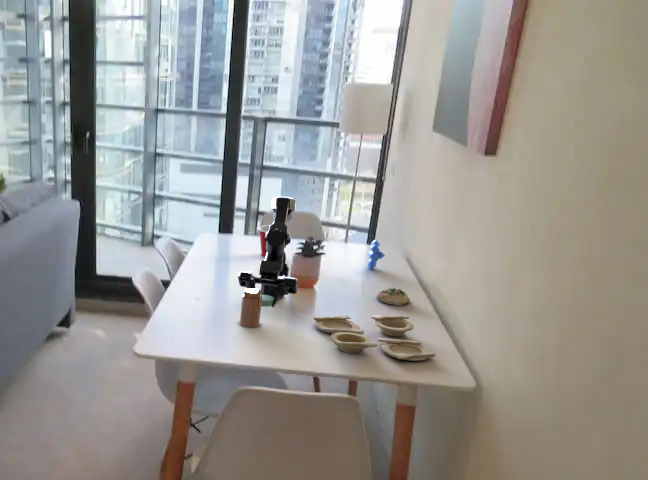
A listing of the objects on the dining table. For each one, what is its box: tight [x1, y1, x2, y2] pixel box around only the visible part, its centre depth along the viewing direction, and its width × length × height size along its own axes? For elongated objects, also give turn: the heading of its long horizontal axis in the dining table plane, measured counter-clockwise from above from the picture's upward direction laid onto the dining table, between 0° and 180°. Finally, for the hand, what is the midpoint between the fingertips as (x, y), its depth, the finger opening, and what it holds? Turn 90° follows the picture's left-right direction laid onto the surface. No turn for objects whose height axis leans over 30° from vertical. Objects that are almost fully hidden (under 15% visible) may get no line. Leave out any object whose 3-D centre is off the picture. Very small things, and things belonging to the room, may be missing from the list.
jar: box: [239, 288, 262, 328], centre depth 219 cm, size 6×6×11 cm
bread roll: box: [377, 287, 411, 306], centre depth 250 cm, size 11×11×5 cm
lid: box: [261, 295, 274, 308], centre depth 228 cm, size 7×7×2 cm
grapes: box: [367, 239, 386, 270], centre depth 289 cm, size 12×7×12 cm, turn 160°
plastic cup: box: [257, 224, 271, 258], centre depth 303 cm, size 11×11×12 cm
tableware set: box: [312, 314, 436, 362], centre depth 211 cm, size 35×29×4 cm
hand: (262, 305), depth 227 cm, fingers closed on lid, 6 cm apart
